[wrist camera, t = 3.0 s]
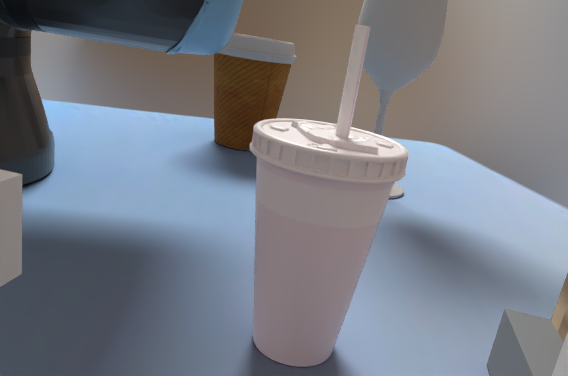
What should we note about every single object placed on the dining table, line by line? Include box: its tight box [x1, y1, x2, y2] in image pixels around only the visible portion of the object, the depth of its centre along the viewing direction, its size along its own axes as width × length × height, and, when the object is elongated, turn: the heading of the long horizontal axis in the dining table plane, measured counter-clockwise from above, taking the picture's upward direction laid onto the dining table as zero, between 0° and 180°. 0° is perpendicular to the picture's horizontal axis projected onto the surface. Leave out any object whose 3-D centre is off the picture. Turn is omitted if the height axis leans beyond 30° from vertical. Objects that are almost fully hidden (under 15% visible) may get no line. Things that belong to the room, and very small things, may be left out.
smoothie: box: [250, 24, 409, 367], centre depth 21 cm, size 6×6×14 cm
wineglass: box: [358, 0, 448, 199], centre depth 47 cm, size 8×8×21 cm
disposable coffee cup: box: [214, 33, 297, 151], centre depth 58 cm, size 10×10×12 cm
